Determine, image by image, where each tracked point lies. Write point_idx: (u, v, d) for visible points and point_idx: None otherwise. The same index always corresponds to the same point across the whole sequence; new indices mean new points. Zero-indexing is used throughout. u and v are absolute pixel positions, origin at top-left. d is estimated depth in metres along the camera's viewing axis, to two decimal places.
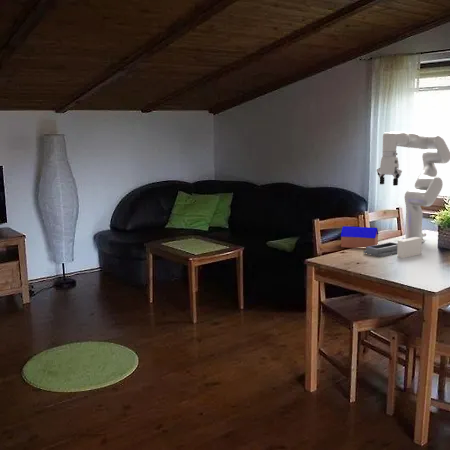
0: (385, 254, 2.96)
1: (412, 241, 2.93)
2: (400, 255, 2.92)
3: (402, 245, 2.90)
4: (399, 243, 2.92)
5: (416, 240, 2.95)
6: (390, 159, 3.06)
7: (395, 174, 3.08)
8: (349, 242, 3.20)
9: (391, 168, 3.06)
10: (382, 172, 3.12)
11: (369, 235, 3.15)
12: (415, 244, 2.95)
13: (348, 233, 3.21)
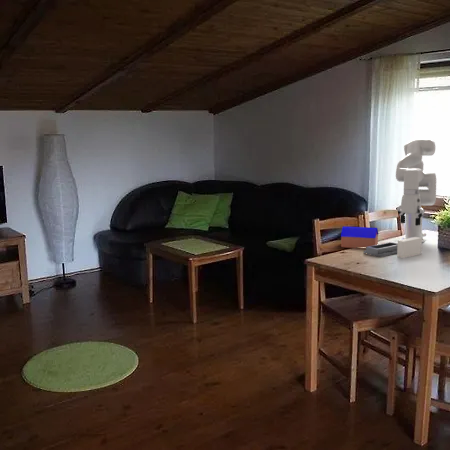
0: (385, 254, 2.96)
1: (412, 241, 2.93)
2: (400, 255, 2.92)
3: (402, 245, 2.90)
4: (399, 243, 2.92)
5: (416, 240, 2.95)
6: (412, 197, 2.87)
7: (417, 213, 2.89)
8: (349, 242, 3.20)
9: (413, 207, 2.87)
10: (403, 211, 2.93)
11: (369, 235, 3.15)
12: (415, 244, 2.95)
13: (348, 233, 3.21)
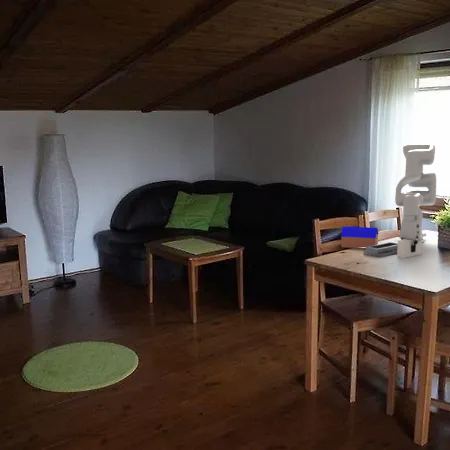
0: (385, 254, 2.96)
1: None
2: (400, 255, 2.92)
3: (402, 245, 2.90)
4: (399, 243, 2.92)
5: None
6: (411, 223, 2.90)
7: (414, 239, 2.93)
8: (349, 243, 3.20)
9: (413, 233, 2.90)
10: (403, 236, 2.96)
11: (369, 235, 3.15)
12: None
13: (348, 233, 3.20)
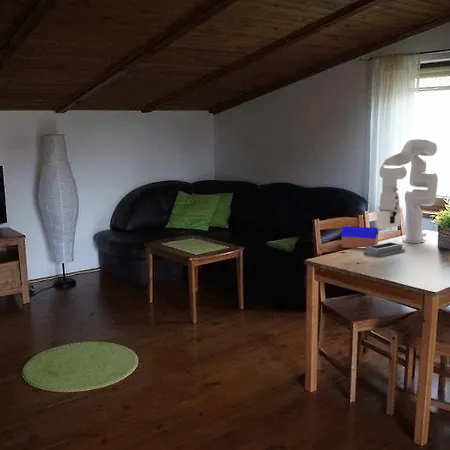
0: (385, 254, 2.96)
1: None
2: (380, 226, 2.96)
3: (382, 216, 2.94)
4: (378, 214, 2.96)
5: None
6: (390, 195, 2.94)
7: (393, 211, 2.97)
8: (349, 243, 3.20)
9: (392, 204, 2.94)
10: (382, 207, 3.00)
11: (370, 235, 3.15)
12: None
13: (348, 233, 3.20)
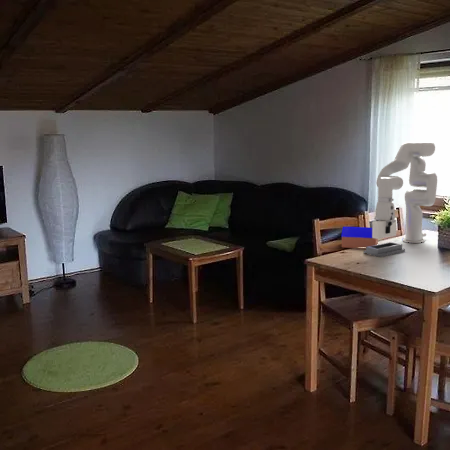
0: (385, 254, 2.96)
1: None
2: (375, 236, 2.98)
3: (377, 226, 2.96)
4: (374, 224, 2.98)
5: None
6: (386, 205, 2.96)
7: (389, 221, 3.00)
8: (349, 243, 3.19)
9: (387, 214, 2.96)
10: (378, 217, 3.02)
11: (370, 235, 3.15)
12: None
13: (349, 233, 3.20)
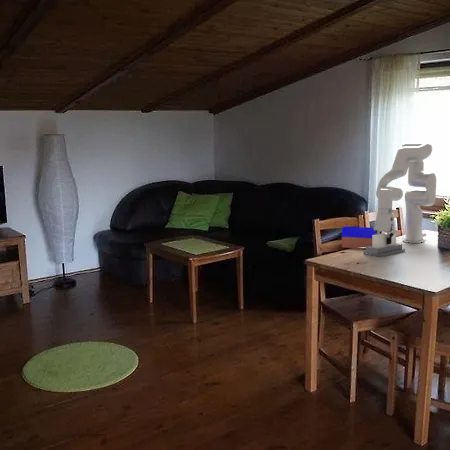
0: (385, 254, 2.96)
1: (386, 236, 3.01)
2: None
3: (377, 239, 2.98)
4: (374, 238, 3.00)
5: None
6: (386, 216, 2.97)
7: (389, 232, 3.00)
8: (349, 243, 3.19)
9: (387, 226, 2.98)
10: (378, 228, 3.03)
11: (370, 235, 3.15)
12: None
13: (349, 233, 3.20)
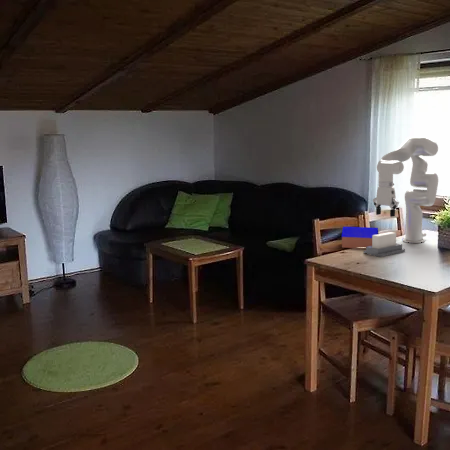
0: (385, 254, 2.96)
1: (386, 236, 3.01)
2: None
3: (377, 239, 2.98)
4: (374, 238, 3.00)
5: (390, 235, 3.03)
6: (387, 190, 2.96)
7: (392, 205, 2.98)
8: (349, 243, 3.19)
9: (388, 199, 2.96)
10: (378, 202, 3.02)
11: (370, 235, 3.15)
12: (389, 239, 3.03)
13: (349, 233, 3.20)
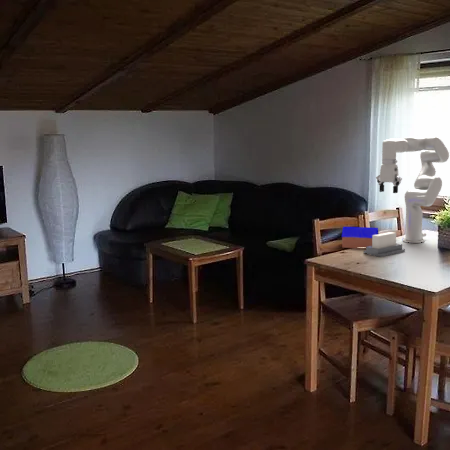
0: (385, 254, 2.96)
1: (386, 236, 3.01)
2: None
3: (377, 239, 2.98)
4: (374, 238, 3.00)
5: (390, 235, 3.03)
6: (390, 167, 3.05)
7: (395, 182, 3.07)
8: (350, 243, 3.19)
9: (391, 176, 3.05)
10: (382, 180, 3.11)
11: (370, 235, 3.15)
12: (389, 239, 3.03)
13: (349, 233, 3.20)
